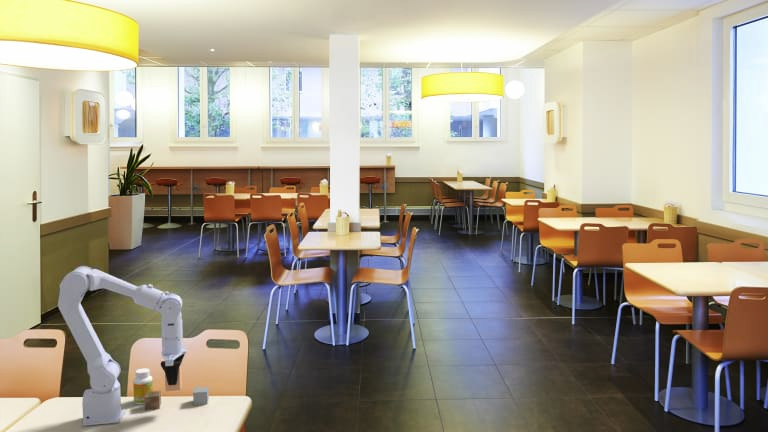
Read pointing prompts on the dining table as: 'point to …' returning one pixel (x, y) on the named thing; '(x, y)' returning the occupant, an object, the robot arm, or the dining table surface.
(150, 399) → the walnut block
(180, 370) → the terracotta block
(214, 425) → the dining table surface
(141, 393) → the supplement bottle
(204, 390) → the slate block
